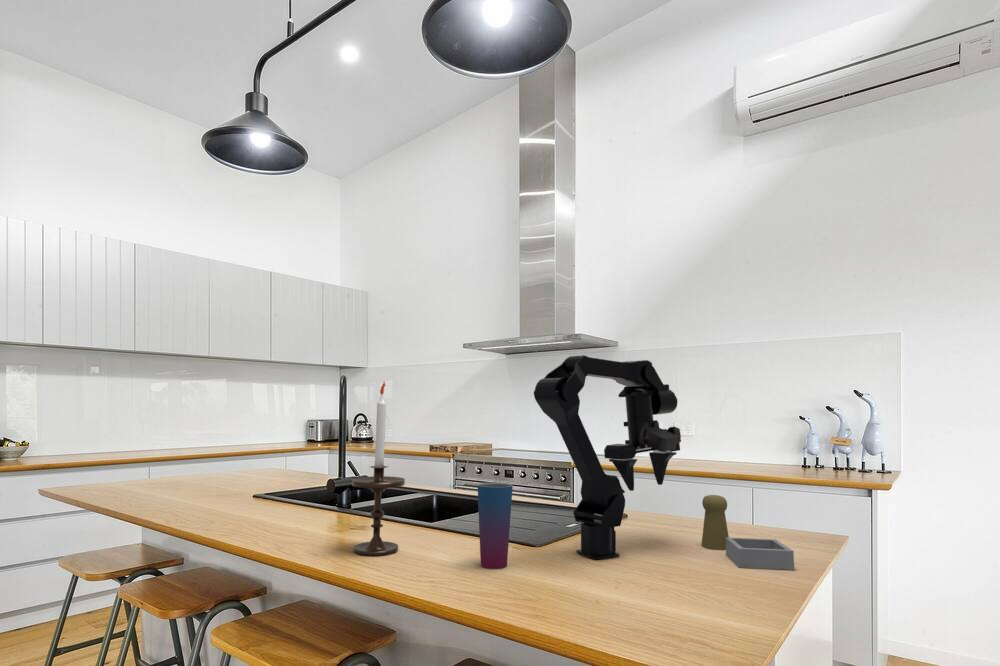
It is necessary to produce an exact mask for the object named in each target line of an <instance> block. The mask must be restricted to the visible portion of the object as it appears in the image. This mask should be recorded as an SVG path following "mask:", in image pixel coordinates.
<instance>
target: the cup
mask: <svg viewBox="0 0 1000 666" xmlns="http://www.w3.org/2000/svg"><path fill="white" fill-rule="evenodd" d="M513 486H514V484H512V483H508V482H507V483H506V482H498V481H497V482H495V481H493V482H480V483H478V484H477V505H478V506H477V507H478V528H479V529H478V530H479V532H478V533H479V534H478V535H479V553H480V555H479V558H480V566H481V567H482V568H484V569H487V570H488V569H489V570H498V569H499V570H500V569H505V568H507V566H508V559H509V558H508V555H509V543H510V541H509V540H510V530H511V529H510V526H511V516H512V514H511V513H512V512H511V511H512V503H513V490H514V489H513Z"/></svg>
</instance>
